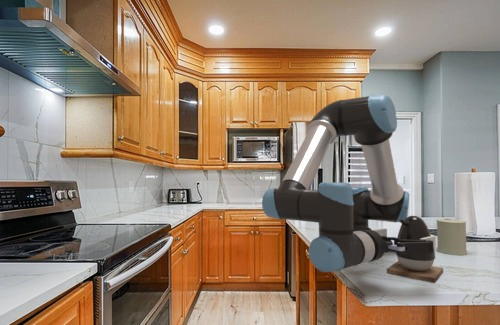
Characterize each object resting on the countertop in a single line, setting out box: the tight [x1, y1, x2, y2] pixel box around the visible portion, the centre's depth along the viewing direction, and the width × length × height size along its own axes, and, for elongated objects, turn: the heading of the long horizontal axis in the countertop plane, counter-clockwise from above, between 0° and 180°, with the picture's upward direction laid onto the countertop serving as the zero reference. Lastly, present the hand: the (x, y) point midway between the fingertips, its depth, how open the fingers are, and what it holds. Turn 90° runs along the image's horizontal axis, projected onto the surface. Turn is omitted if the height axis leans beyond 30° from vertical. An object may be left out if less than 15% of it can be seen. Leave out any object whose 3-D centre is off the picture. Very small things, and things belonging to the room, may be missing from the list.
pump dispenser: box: [394, 215, 436, 271], centre depth 87 cm, size 10×10×15 cm
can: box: [436, 218, 468, 256], centre depth 111 cm, size 9×9×12 cm
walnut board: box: [386, 260, 444, 284], centre depth 87 cm, size 12×12×1 cm
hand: (408, 236), depth 85 cm, fingers open, 13 cm apart
